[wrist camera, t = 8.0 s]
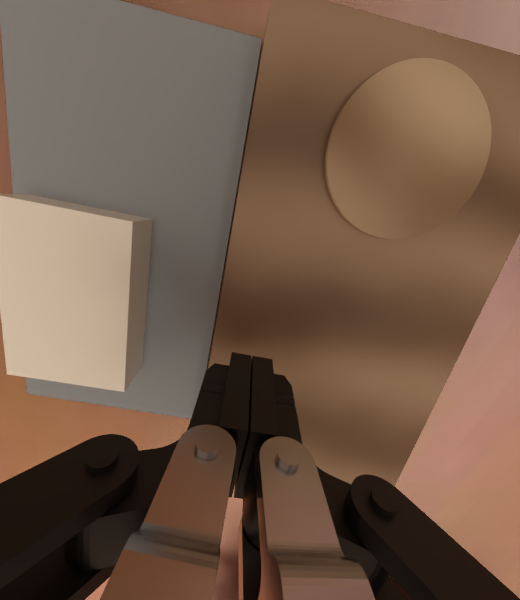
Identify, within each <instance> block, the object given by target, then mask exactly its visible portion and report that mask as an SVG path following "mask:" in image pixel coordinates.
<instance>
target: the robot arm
mask: <svg viewBox="0 0 520 600" xmlns="http://www.w3.org/2000/svg"><path fill="white" fill-rule="evenodd" d="M234 485H235V491H234V498H241V499H243V514H242V518H241V521H240V525H239V531H238V564H239V600H409V599H408V597H407V596H406V595H405V594H404V593H403V592H402V591H401V589H400V588H399V587H398V586H397V585H396V584H395V582H394V581H393V580H392V579H391V578H390V577H389V575H391V577H392V578H393V579H394V580H395V581H396V582H397V583H398V585H399V586H400V587H401V588H402V589H403V590H404V591H405V593H406V594H407V595H408V596H409V597H410V598H411V599H412V600H520V599H519V598H518V597H517V596H516V595H515V594H514V593H513V592H512V591H510V590H509V589H508V588H507V587H506V586H505V585H504V584H503V583H502V582H500V581H499V580H498V579H497V578H496V577H495V576H494V575H493V574H492V573H490V572H489V571H488V570H487V569H486V568H485V567H484V566H483V565H482V564H480V563H479V562H478V561H477V560H476V559H475V558H474V557H473V556H471V555H470V554H469V553H468V552H467V551H466V550H465V549H464V548H463V547H461V546H460V545H459V544H458V543H457V542H456V541H455V540H454V539H453V538H451V537H450V536H449V535H448V534H447V533H446V532H445V531H444V530H442V529H441V528H440V527H439V526H438V525H437V524H436V523H435V522H434V521H432V520H431V519H430V518H429V517H428V516H427V515H426V514H425V513H424V512H422V511H421V510H420V509H419V508H418V507H417V506H416V505H415V504H414V503H412V502H411V501H410V500H409V499H408V498H407V497H406V496H405V495H403V494H402V493H401V492H400V491H399V490H398V489H397V488H396V487H394V486H393V485H392V484H390V483H389V482H388V481H386V480H384V479H382V478H380V477H377V476H374V475H369V474H364V475H360V476H358V477H356V478H355V479H354V480H353V482H352V484H349V483H347V482H345V481H343V480H340V479H338V478H336V477H334V476H332V475H330V474H328V473H326V472H324V471H323V470H321V469H320V468H319V467H317V466H316V464H315V461H314V458H313V456H312V454H311V453H310V452H309V450H308V449H307V448H306V447H305V446H304V445H303V444H302V439H301V433H300V428H299V422H298V417H297V411H296V408H295V400H294V395H293V390H292V385H291V384H290V382H289V381H288V380H287V378H286V377H285V376H284V375H279V374H274V370H273V360H272V359H268V358H263V357H257V356H252V359H251V355H246V354H240V353H235V352H232V353H231V358H230V363H229V366H228V365H222V364H216V363H214V364H213V365H212V366H211V367H210V368H208V369H207V370H206V372H205V376H204V379H203V383H202V385H201V389H200V392H199V395H198V398H197V401H196V405H195V408H194V411H193V414H192V418H191V421H190V424H189V427H188V429H187V431H186V432H185V433H184V434H183V435H182V436H181V437H180V439H179V440H177V441H176V442H174V443H172V444H170V445H168V446H165V447H162V448H157V449H149V450H142V451H138V448H137V446H136V444H135V443H134V442H133V441H132V440H131V439H129V438H127V437H125V436H122V435H116V434H108V435H101V436H97V437H94V438H91V439H89V440H87V441H85V442H83V443H81V444H79V445H77V446H75V447H73V448H71V449H69V450H67V451H65V452H63V453H61V454H59V455H57V456H55V457H53V458H51V459H49V460H47V461H45V462H43V463H41V464H39V465H37V466H35V467H33V468H31V469H29V470H27V471H25V472H23V473H21V474H19V475H17V476H14V477H12V478H10V479H8V480H6V481H4V482H2V483H0V600H85V599H86V598H87V597H88V596H89V595H90V594H91V593H92V592H94V591H95V590H96V589H97V588H98V587H99V586H100V585H101V584H102V583H103V582H105V581H106V580H107V579H108V578H109V577H110V579H109V581H108V583H107V585H106V587H105V589H104V592H103V594H102V596H101V598H100V600H212V599H213V593H214V587H215V582H216V576H217V570H218V563H219V557H220V543H221V536H222V531H223V525H224V519H225V514H226V508H227V502H228V497H232V493H233V489H234Z"/></svg>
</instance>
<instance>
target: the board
mask: <svg viewBox="0 0 520 600" xmlns="http://www.w3.org/2000/svg"><path fill="white" fill-rule="evenodd" d="M415 58H433V59H438V60H443V61H445V62H448V63H451V64H453V65H455V66H456V67H458V68H460V69H461V70H463V71H464V72H465V73H466V74H467V75H469V76H470V77H471V78H472V80H473V81H474V82H475V83H476V84H477V86H478V87H479V89H480V91H481V92H482V94H483V96H484V99H485V101H486V104H487V106H488V110H489V114H490V120H491V147H490V153H489V157H488V161H487V165H486V168H485V170H484V173H483V176H482V178H481V180H480V182H479V184H478V186H477V188H476V189H475V191H474V192H473V194H472V196H471V197H470V198H469V200H468V201H467V202H466V203H465V205H464V206H463V207H462V208H461V209H460V210H459V211H458V212H457V213H456V214H455V215H454V216H453V217H451V218H450V219H449V220H448V221H447V222H445V223H444V224H442V225H441V226H439V227H438V228H436V229H434V230H432V231H430V232H428V233H425V234H422V235H420V236H416V237H412V238H407V239H385V238H379V237H376V236H372V235H369V234H366V233H364V232H362V231H359V230H358V229H356V228H355V227H353V226H352V225H350V224H349V223H348V222H347V221H346V220H345V219H344V218H343V217H342V216H341V215H340V214H339V212H338V211H337V209H336V208H335V206H334V204H333V202H332V200H331V198H330V196H329V193H328V189H327V186H326V181H325V174H324V159H325V150H326V145H327V140H328V137H329V134H330V131H331V128H332V126H333V124H334V122H335V120H336V118H337V116H338V114H339V113H340V111H341V109H342V108H343V106H344V105H345V104H346V102H347V101H348V100H349V98H350V97H351V96H352V95H353V94H354V93H355V92H356V91H357V90H358V89H359V88H360V87H361V85H362V84H363V83H364V82H366V81H367V80H368V79H369V78H371V77H372V76H373V75H374V74H376V73H378V72H379V71H381V70H382V69H384V68H386V67H388V66H390V65H393V64H395V63H397V62H401V61H404V60H408V59H415ZM519 233H520V55H516V54H513V53H509V52H506V51H502V50H499V49H495V48H492V47H488V46H485V45H481V44H478V43H474V42H471V41H467V40H464V39H460V38H457V37H453V36H449V35H446V34H442V33H439V32H435V31H432V30H428V29H425V28H421V27H418V26H414V25H411V24H407V23H404V22H400V21H397V20H393V19H390V18H386V17H382V16H379V15H375V14H372V13H368V12H365V11H361V10H358V9H354V8H351V7H347V6H344V5H340V4H337V3H333V2H330V1H326V0H271V2H270V8H269V14H268V20H267V26H266V31H265V37H264V43H263V49H262V55H261V61H260V67H259V73H258V79H257V84H256V90H255V96H254V102H253V108H252V114H251V120H250V126H249V132H248V137H247V143H246V149H245V155H244V161H243V167H242V173H241V179H240V184H239V190H238V196H237V202H236V208H235V214H234V220H233V226H232V232H231V237H230V243H229V249H228V255H227V261H226V267H225V273H224V279H223V285H222V290H221V296H220V302H219V308H218V314H217V320H216V326H215V332H214V338H213V343H212V349H211V355H210V361H209V367H208V368H210V367H211V366H212V365H213V364H214V363H216V364H222V365H228V366H229V363H230V358H231V353H232V352H235V353H240V354H246V355H251V359H252V356H257V357H263V358H268V359H272V360H273V370H274V374H279V375H284V376H285V377H286V378H287V380H288V381H289V382H290V384H291V385H292V390H293V395H294V400H295V408H296V411H297V417H298V422H299V428H300V433H301V439H302V444H303V445H304V446H305V447H306V448H307V449H308V450H309V452H310V453H311V454H312V456H313V458H314V461H315V464H316V466H317V467H319V468H320V469H321V470H323V471H324V472H326V473H328V474H330V475H332V476H334V477H336V478H338V479H340V480H343V481H345V482H347V483H349V484H352V482H353V480H354V479H355V478H356V477H358V476H360V475H364V474H369V475H374V476H377V477H380V478H382V479H384V480H386V481H388V482H389V483H390V484H392V485H393V486H395V484H396V482H397V480H398V478H399V476H400V474H401V472H402V470H403V468H404V466H405V464H406V462H407V460H408V458H409V456H410V454H411V452H412V450H413V448H414V446H415V444H416V442H417V440H418V438H419V436H420V434H421V432H422V430H423V428H424V426H425V424H426V421H427V419H428V417H429V415H430V413H431V411H432V409H433V407H434V405H435V403H436V401H437V399H438V397H439V395H440V393H441V391H442V389H443V387H444V385H445V383H446V381H447V379H448V377H449V375H450V373H451V371H452V369H453V367H454V365H455V363H456V361H457V359H458V357H459V355H460V353H461V351H462V349H463V347H464V345H465V343H466V341H467V339H468V337H469V334H470V332H471V330H472V328H473V326H474V324H475V322H476V320H477V318H478V316H479V314H480V312H481V310H482V308H483V306H484V304H485V302H486V300H487V298H488V296H489V294H490V292H491V290H492V288H493V286H494V284H495V282H496V280H497V278H498V276H499V274H500V272H501V270H502V268H503V266H504V264H505V262H506V260H507V258H508V256H509V254H510V252H511V250H512V247H513V245H514V243H515V241H516V239H517V237H518V235H519Z"/></svg>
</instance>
